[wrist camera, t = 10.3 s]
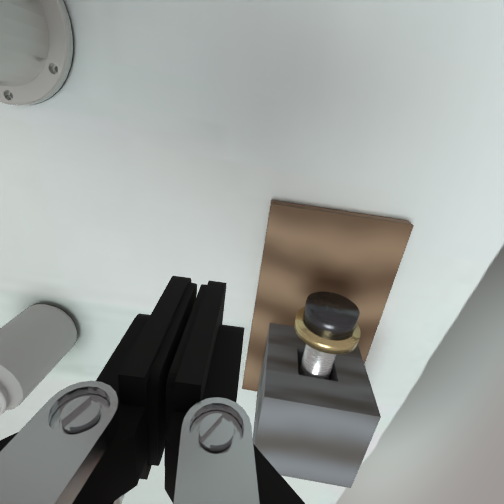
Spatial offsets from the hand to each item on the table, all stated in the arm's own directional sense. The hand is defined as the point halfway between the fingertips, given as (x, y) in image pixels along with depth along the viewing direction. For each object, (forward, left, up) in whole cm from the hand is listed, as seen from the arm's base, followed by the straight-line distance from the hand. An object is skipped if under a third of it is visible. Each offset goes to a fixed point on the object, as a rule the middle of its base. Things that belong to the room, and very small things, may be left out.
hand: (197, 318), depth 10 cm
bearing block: (+14, +9, -24) cm, 29 cm away
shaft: (+18, +9, -20) cm, 29 cm away
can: (+23, -24, -24) cm, 41 cm away
